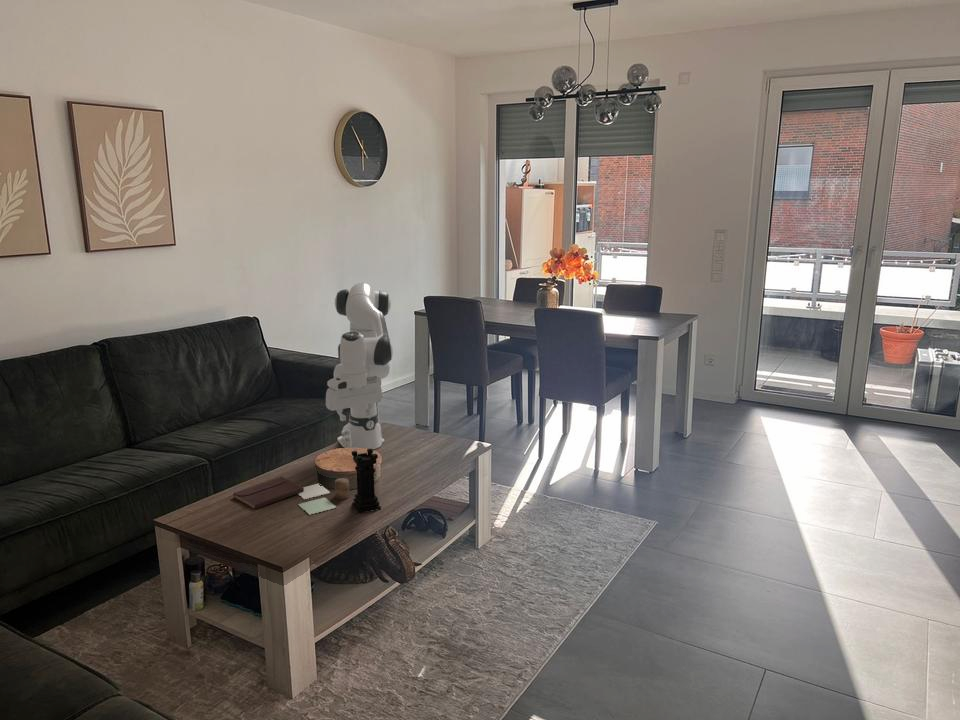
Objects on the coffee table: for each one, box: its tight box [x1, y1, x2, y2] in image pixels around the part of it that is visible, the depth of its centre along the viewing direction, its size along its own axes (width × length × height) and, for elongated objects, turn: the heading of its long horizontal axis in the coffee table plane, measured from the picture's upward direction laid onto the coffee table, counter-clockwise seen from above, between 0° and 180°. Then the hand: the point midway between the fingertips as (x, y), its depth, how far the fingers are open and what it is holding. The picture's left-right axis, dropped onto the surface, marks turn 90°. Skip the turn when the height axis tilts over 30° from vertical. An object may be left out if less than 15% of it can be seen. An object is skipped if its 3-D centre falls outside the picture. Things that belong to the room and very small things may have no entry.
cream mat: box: [297, 483, 331, 501], centre depth 260 cm, size 10×10×1 cm
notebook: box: [233, 475, 304, 510], centre depth 257 cm, size 15×20×2 cm
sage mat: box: [297, 497, 337, 516], centre depth 248 cm, size 10×10×1 cm
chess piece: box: [351, 448, 382, 514], centre depth 245 cm, size 8×8×20 cm
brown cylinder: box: [334, 477, 350, 500], centre depth 256 cm, size 5×5×6 cm
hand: (355, 418), depth 245 cm, fingers open, 8 cm apart
